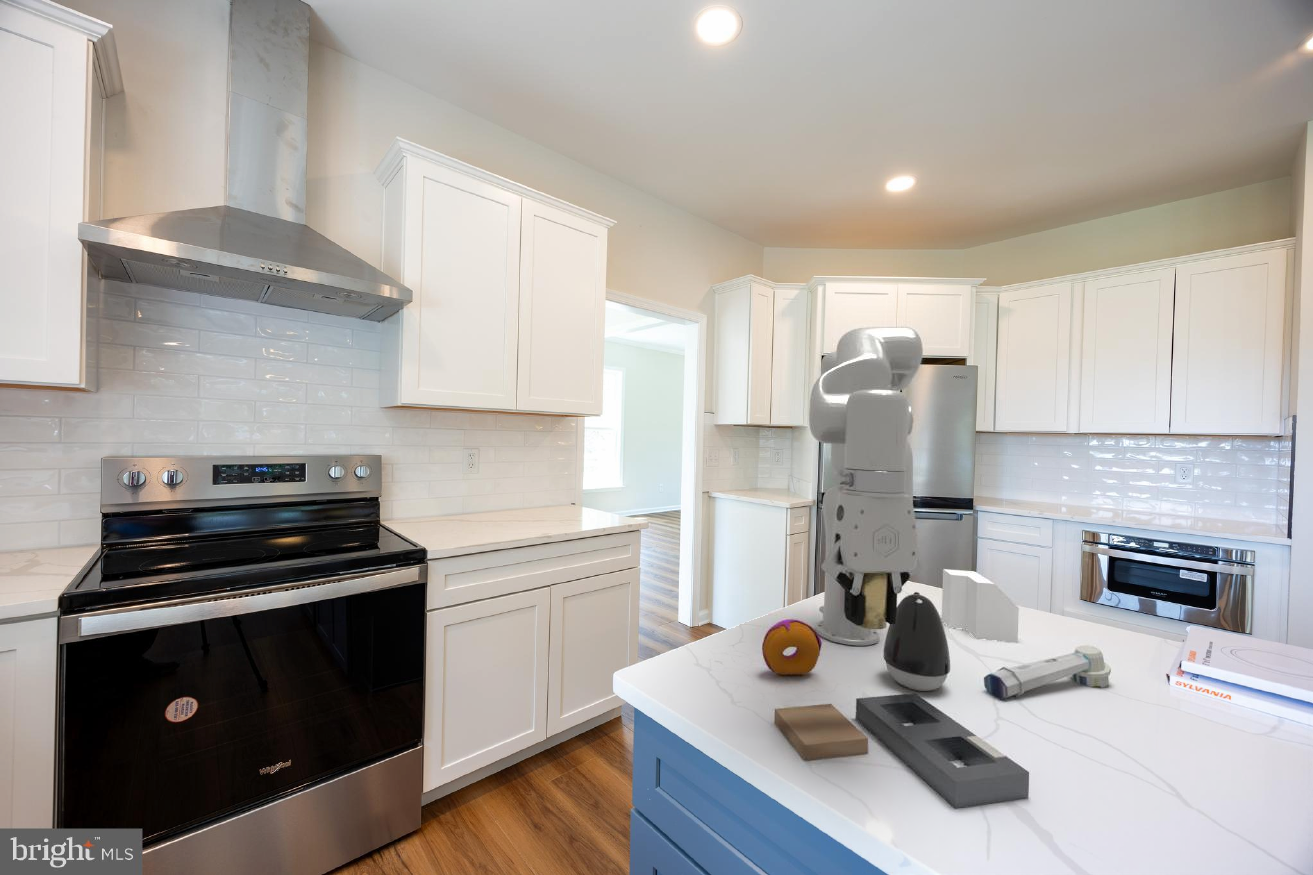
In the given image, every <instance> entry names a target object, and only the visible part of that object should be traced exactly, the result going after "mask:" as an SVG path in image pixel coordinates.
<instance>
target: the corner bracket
mask: <svg viewBox="0 0 1313 875" xmlns="http://www.w3.org/2000/svg"><path fill="white" fill-rule="evenodd" d="M941 595H942V596H941V621H942V620H943V621H944V622H945V623H946V624H947V625H946V624H945V623H944V622H943V621H942V622H943V623H944V624H945V625H946V627H948V626H949V627H948V629H950V628H962V629H967V630H968V631H969V632H970V633H971V634H972V635H973V636H974V637H975V638H979V639H978V640H981V639H986V641H992V640H997V641H996V642H1002V641H1005V642H1004V643H1013V642H1015V643H1014V644H1018V643H1019V642H1018V641H1019V607H1018V605H1016V604H1015V603H1014V602H1013V600H1011V599H1010V597H1008V596H1007V594H1005V592H1003V591H1002V589H1001V588H1000V587H998V586H997V585H996V583H994V582H993V581H991V580H989V579H988V578H986V577H984V576H983V575H981V574H980V573H978V572H976V571H974V570H973V571H972V570H962V569H961V570H960V569H946V568H943V569H942V594H941ZM968 631H967V632H968ZM969 632H968V633H969ZM970 633H969V634H970ZM971 634H970V635H971ZM972 635H971V636H972ZM973 636H972V637H973ZM974 637H973V638H974ZM975 638H974V639H975Z"/></svg>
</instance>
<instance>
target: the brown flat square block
mask: <svg viewBox="0 0 1313 875" xmlns="http://www.w3.org/2000/svg"><path fill="white" fill-rule="evenodd" d="M773 716H774V722H773V723H774V724H775V725H776V727H777V728H778V729H779V730H780V732H781V733H782V734H783V736H785V738H786V739H787V740H788V741H789V743H790V744H791V746H793V748H794V749H795V750H796V752H797V753H798V754H799V755H800V756H801V757H802V759H803V760H804V761H813V760H822V759H830V758H831V759H832V758H840V757H850V756H857V755H865V754H868V752H869V738H868V736H867V735H866V734H864V733H863V731H861V730H860V729H859V728H858V727H857V726H856V725H854V723H852V721H850V720H849V719H848V718H847V717H846V716H845V715H844V714H843V713H842V712H841V711H840V710H839V709H837V708H836V707H835V706H834V705H833V704H832V703H825V704H824V703H823V704H815V705H814V704H813V705H803V706H793V707H791V706H790V707H780V708H779V707H778V708H774V715H773Z"/></svg>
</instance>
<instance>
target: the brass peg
mask: <svg viewBox="0 0 1313 875" xmlns="http://www.w3.org/2000/svg"><path fill="white" fill-rule="evenodd" d="M887 581H888V573H864V575H863V580H862V584H861V589H860V594H861V595H863V596H864V616H863V624H862V626H860V627H863V628H868V629H875V630H884V629H886V628H887V622H886V615H887Z"/></svg>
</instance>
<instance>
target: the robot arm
mask: <svg viewBox="0 0 1313 875" xmlns="http://www.w3.org/2000/svg"><path fill="white" fill-rule="evenodd" d="M923 351H924V350H923V342H922V339H921V337H920V335H919V333H918V332H917V331H916V329H914V328H911V327H909V326H882V327H881V326H878V327H877V326H876V327H859V328H854V329H851V330H849V331H847V332H846V333H845V334H843V335H842V336H841V337H840V339H839V341H838V342H837V344H836V351H833V352H832V351H831V352H829V353H827V354H825V355H824V356H823V358H822V360H821V363H820V376H819V377H818V378H817V379H816V380H815V382H814V384H813V386H812V389H811V391H810V392H811V393H810V397H809V398H810V399H809V412H808V422H809V431H810V434H811V435H812V436H813V438H814V439H815V440H816V441H818V442H820V443H822V444H828V445H830V446H831V447H830V464H831V470H832V472H833V473H834V475H836V476H835V480H836V484H837V485H835V486H833V487H830V488H829V489H827V490H826V491H825V492H824V495H823V498H822V512H823V520H824V531H825V559H824V561H823V562H822V564H821V565H820V566H821V567H820V568H821V570H822V571H823V572H824V595H823V596H824V599H823V600H824V601H823V606H822V605H821V606H820V607H819V609H818V611H819V612H820V613H822V620H821V621H818V622H817V623H816V624H815V632H816V633H817V635H818V636H819V637H821V638H823V639H826V640H828V641H831V642H834V643H838V644H843V645H846V646H847V645H848V646H858V647H860V646H862V647H863V646H871V645H874V644H876V643H878V642H879V640H880V633H879V631H878V630H877V629H868V628H863V627H860V626H862V624H863V616H864V596H863V595H861V594H860V589H861V584H862V580H863V575H864V573H888V581H887V615H886V624H889V625H890V624H895V622H896V613H897V606H898V594H900V593H902V592H903V586H905V584H906V583H907V582H908V581H909V580H910V577H913V576H914V575H915V574H917V573H918V572H920V571H921V568H922V565H921V564H920V562H919V560H918V537H917V525H916V524H917V523H916V515H915V508H914V504H913V503H914V501H913V500H914V460H913V459H914V457H913V451H912V448H911V444H910V443H909V441H908V440H907V437H908V436H910V435H911V434H912V433H913V432H912V431H913V425H914V412H913V408H912V406H911V405H909V402H908V398H907V396H906V395H905V394H904V393H903V392H901V391H903V390H905V389H906V388H907V387H909V386H910V384H911V383H912V380H913V379H914V377H915V375H916V374H917V373H918V370H919V369H920V366H921V364H922V359H923Z"/></svg>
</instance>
